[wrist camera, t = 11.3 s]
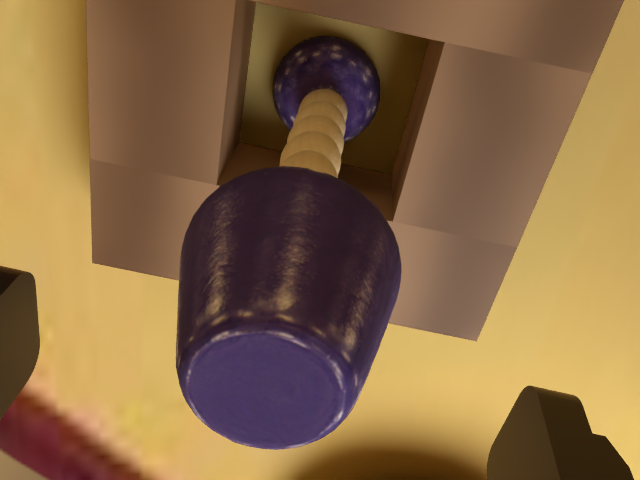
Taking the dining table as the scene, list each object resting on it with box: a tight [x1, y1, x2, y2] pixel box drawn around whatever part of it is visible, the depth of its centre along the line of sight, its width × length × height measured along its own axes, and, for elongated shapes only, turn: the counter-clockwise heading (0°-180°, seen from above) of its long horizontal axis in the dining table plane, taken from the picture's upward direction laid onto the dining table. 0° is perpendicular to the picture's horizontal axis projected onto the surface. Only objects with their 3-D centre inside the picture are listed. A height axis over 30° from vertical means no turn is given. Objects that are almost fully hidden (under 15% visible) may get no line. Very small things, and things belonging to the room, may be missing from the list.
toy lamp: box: [176, 36, 402, 450], centre depth 17 cm, size 5×5×17 cm
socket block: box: [86, 0, 624, 341], centre depth 22 cm, size 16×16×4 cm
